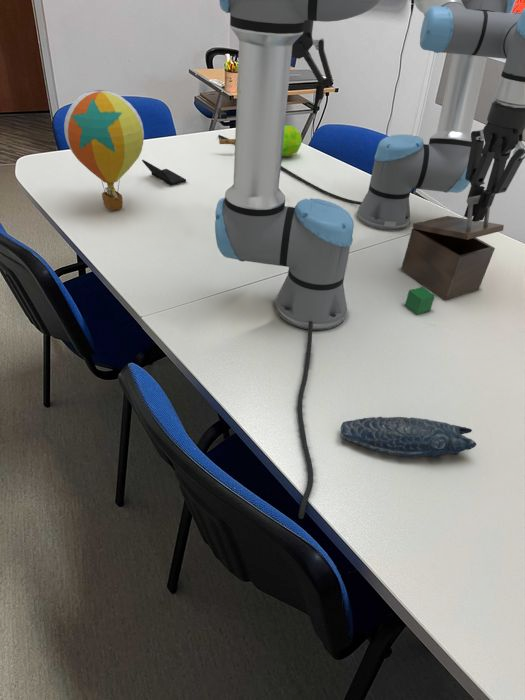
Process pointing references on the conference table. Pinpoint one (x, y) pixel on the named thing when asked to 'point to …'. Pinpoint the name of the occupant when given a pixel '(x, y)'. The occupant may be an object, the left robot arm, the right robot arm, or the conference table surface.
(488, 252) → the chest
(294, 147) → the decorative tree
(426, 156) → the right robot arm
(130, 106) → the toy
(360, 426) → the fish model
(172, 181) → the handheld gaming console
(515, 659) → the conference table surface
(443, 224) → the lid
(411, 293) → the block
